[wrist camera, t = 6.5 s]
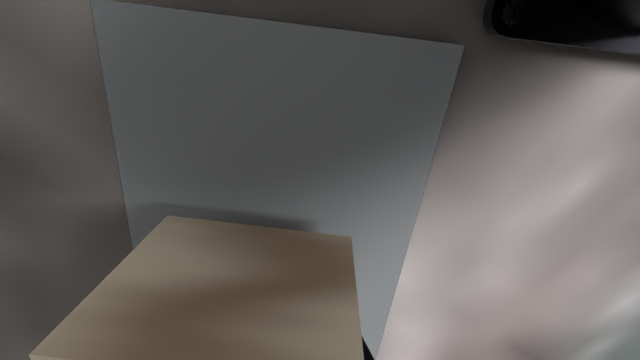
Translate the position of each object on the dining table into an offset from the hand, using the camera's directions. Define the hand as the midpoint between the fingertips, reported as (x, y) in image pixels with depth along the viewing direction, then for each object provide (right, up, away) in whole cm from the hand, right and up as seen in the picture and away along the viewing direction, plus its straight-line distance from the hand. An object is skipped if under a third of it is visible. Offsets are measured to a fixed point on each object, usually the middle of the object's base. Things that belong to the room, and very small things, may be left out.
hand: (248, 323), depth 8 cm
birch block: (0, 0, +1) cm, 1 cm away
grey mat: (0, +1, +2) cm, 2 cm away
